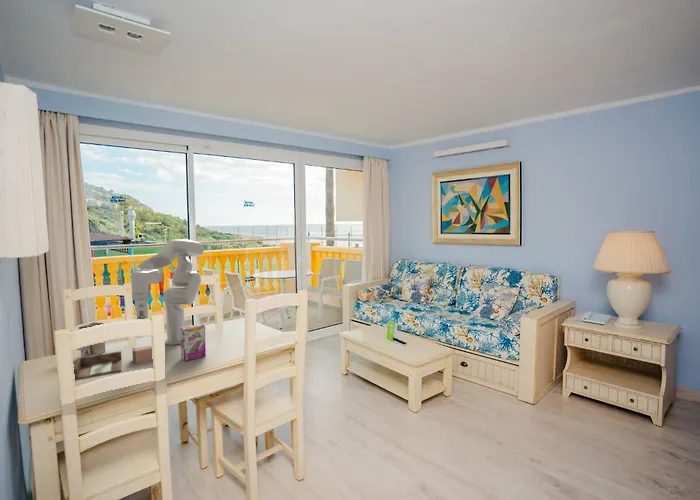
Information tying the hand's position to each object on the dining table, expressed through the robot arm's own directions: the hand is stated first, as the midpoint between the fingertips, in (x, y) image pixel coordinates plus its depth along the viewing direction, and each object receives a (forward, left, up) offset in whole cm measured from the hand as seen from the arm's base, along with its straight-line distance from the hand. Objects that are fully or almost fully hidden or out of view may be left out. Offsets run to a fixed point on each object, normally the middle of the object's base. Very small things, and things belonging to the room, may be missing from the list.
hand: (142, 329), depth 188 cm
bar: (0, 0, -16) cm, 16 cm away
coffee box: (+23, -22, -16) cm, 36 cm away
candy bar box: (-22, +10, -16) cm, 29 cm away
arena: (+19, +3, -16) cm, 25 cm away
